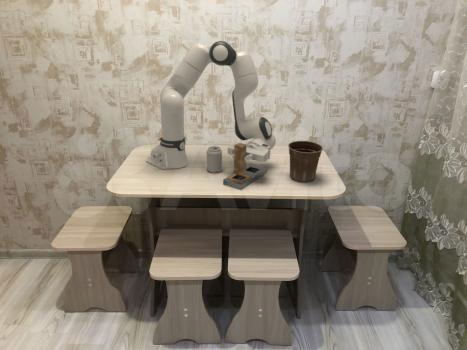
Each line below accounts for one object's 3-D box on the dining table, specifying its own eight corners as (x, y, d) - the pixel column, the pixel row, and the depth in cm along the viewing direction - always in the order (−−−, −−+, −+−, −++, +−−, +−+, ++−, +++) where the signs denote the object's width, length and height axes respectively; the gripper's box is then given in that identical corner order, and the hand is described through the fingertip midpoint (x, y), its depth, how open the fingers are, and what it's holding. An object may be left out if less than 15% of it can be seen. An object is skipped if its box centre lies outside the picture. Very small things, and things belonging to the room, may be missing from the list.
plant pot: (324, 183, 186) (328, 151, 180) (291, 185, 184) (293, 153, 177) (312, 170, 201) (316, 140, 194) (282, 171, 199) (284, 141, 192)
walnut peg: (233, 173, 183) (234, 145, 178) (238, 170, 186) (239, 142, 181) (241, 175, 181) (241, 146, 176) (245, 172, 184) (246, 144, 179)
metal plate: (223, 184, 183) (223, 179, 182) (249, 168, 202) (250, 163, 201) (241, 189, 178) (241, 184, 177) (266, 172, 197) (267, 167, 196)
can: (223, 168, 201) (224, 146, 196) (218, 174, 194) (218, 151, 189) (210, 166, 203) (210, 144, 198) (204, 172, 196) (204, 149, 191)
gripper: (236, 139, 194) (220, 146, 184) (273, 147, 184) (258, 155, 174) (236, 151, 197) (220, 159, 186) (272, 159, 187) (258, 169, 176)
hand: (239, 157), depth 180 cm, fingers closed on walnut peg, 4 cm apart
